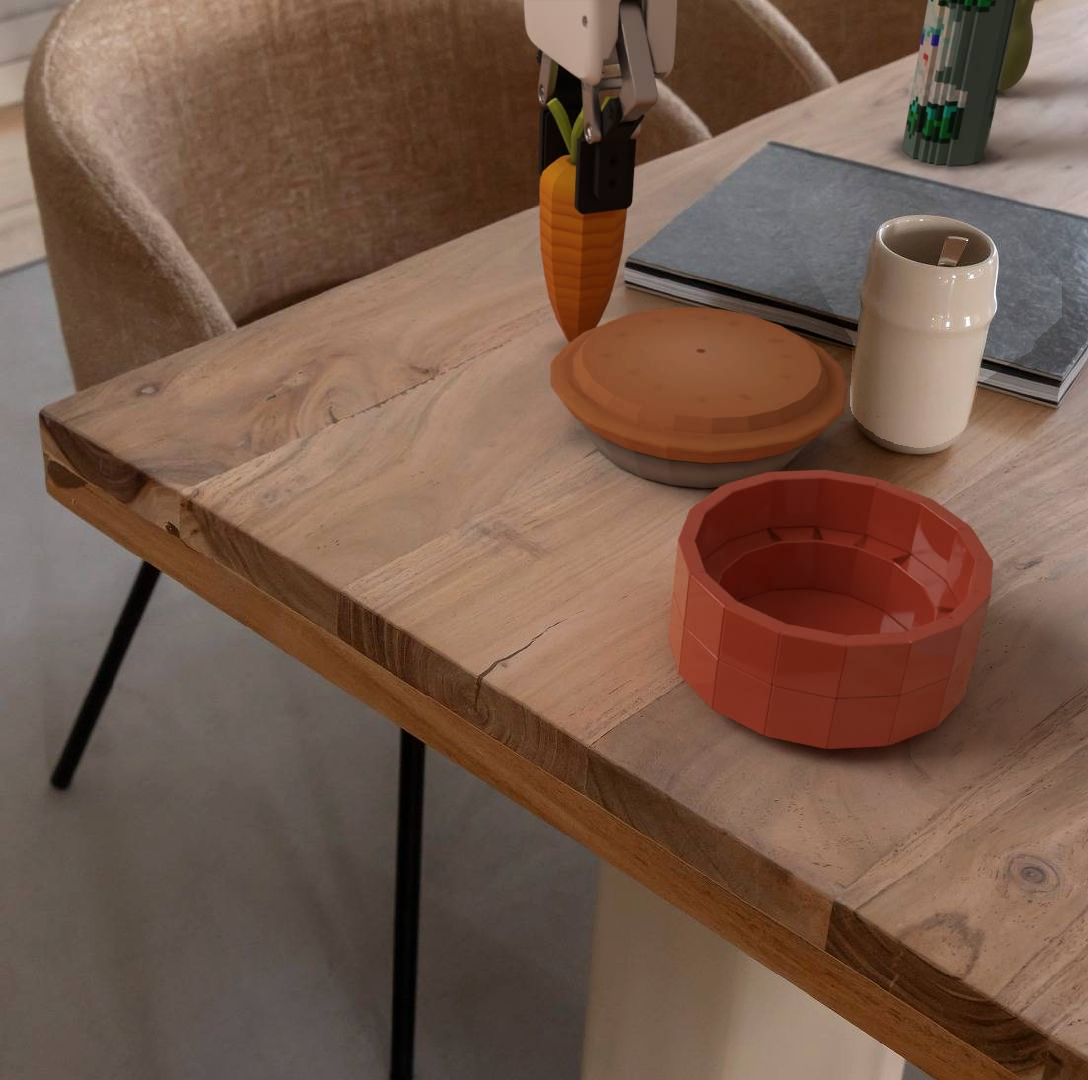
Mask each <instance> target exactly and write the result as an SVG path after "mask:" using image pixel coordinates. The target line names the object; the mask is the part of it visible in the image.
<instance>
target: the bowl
mask: <svg viewBox="0 0 1088 1080" xmlns="http://www.w3.org/2000/svg"><path fill="white" fill-rule="evenodd" d="M974 530H975V529H973V527H972V526H970V525H969V524H968V523H966V522H965V521H964V520H962V518H960V517H958V516H957V515H956V514H954V513H952V512H951V511H950V510H949V509H948V508H946V507H944V506H943V505H942V504H940V503H939V502H937V501H936V500H935V499H934V498H930V497H927V496H925V495H924V494H923V495H922V494H920V493H917V492H915V491H912V490H910V489H907V488H904V487H902V486H899V485H896V484H894V483H891V482H889V481H887V480H884V479H880V478H876V477H871V476H864V475H858V474H854V473H853V474H852V473H847V472H841V471H835V470H829V469H811V470H810V469H807V470H784V471H783V470H780V471H778V472H766V473H763V474H759V475H756V476H752V477H749V478H745V479H742V480H738V481H735V482H731V483H728V484H724V485H723V486H721V487H717V489H715V490H714V491H712V492H711V493H710V494H708V495H707V496H705V497H704V498H702V499H701V500H700V501H698V502H697V503H696V504H694V505H693V506H692V507H690V508H689V510H688V513H687V515H686V518H685V520H684V523H683V526H682V528H681V531H680V533H679V536H678V538H677V544H676V555H675V565H674V576H673V585H672V598H671V606H670V615H669V616H670V617H669V627H668V637H667V639H668V643H669V646H670V649H671V653H672V658H673V660H674V663H675V667H676V670H677V674H678V675H679V677H680V678H681V679H682V680H683V681H684V682H685V683H686V684H687V685H688V686H689V687H690V688H691V689H692V690H693V691H694V692H695V693H696V694H697V695H698V697H699V698H701V700H702V701H703V702H704V703H705V704H707V706H708V707H709V708H710V709H712V710H713V711H714V712H717V713H718V714H720V715H723V716H725V717H726V718H729V719H731V720H733V721H735V722H736V723H738V724H740V725H742V726H745V727H746V728H748V729H750V730H752V731H753V732H756V733H758V734H760V735H762V736H765V737H768V738H772V739H778V740H782V741H787V742H792V743H796V744H802V745H806V746H810V747H815V748H820V749H828V750H836V749H850V748H851V749H855V748H856V749H857V748H875V747H887V746H891V745H894V744H897V743H899V742H902V741H904V740H907V739H910V738H912V737H916V736H917V735H921V734H923V733H925V732H927V731H930V730H932V729H935V728H938V727H939V726H940V724H941V723H942V722H943V721H944V720H945V719H946V718H947V717H948V716H949V714H951V712H952V711H953V710H954V709H955V708H956V707H957V706H958V704H960V702H962V700H963V699H964V698H965V695H966V692H967V688H968V685H969V681H970V677H971V672H972V669H973V665H974V661H975V659H976V658H975V657H976V653H977V650H978V647H979V643H980V639H981V635H982V631H983V628H984V627H983V626H984V623H985V620H986V615H987V612H988V607H989V604H990V600H991V596H992V583H993V572H994V571H993V569H994V561H993V559H992V557H991V556H990V554H989V552H988V551H987V549H986V548H985V546H984V544H983V543H982V542H981V540H980V538H979V537H978V534H976V531H974Z"/></svg>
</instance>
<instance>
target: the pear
mask: <svg viewBox="0 0 1088 1080" xmlns="http://www.w3.org/2000/svg"><path fill="white" fill-rule="evenodd" d="M1034 6H1035V0H1018V3H1017V8H1016V12H1015V17H1014V22H1013V27H1012V31H1011V36H1010V41H1009V45H1008V50H1007V55H1006V60H1005V64H1004V69H1003V74H1002V78H1001V83H1000V88H999V92H998V93H1002V92H1006V91H1008V90H1009V89H1011V88H1013V87H1014V86H1016V85H1017V84H1018V83H1019V82H1020V81H1021V79H1022V78H1023V77H1024V75H1025V73H1026V71H1027V69H1028V67H1029V64H1030V60H1031V56H1032V52H1033V44H1034V28H1033V21H1032V13H1033V10H1034Z"/></svg>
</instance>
